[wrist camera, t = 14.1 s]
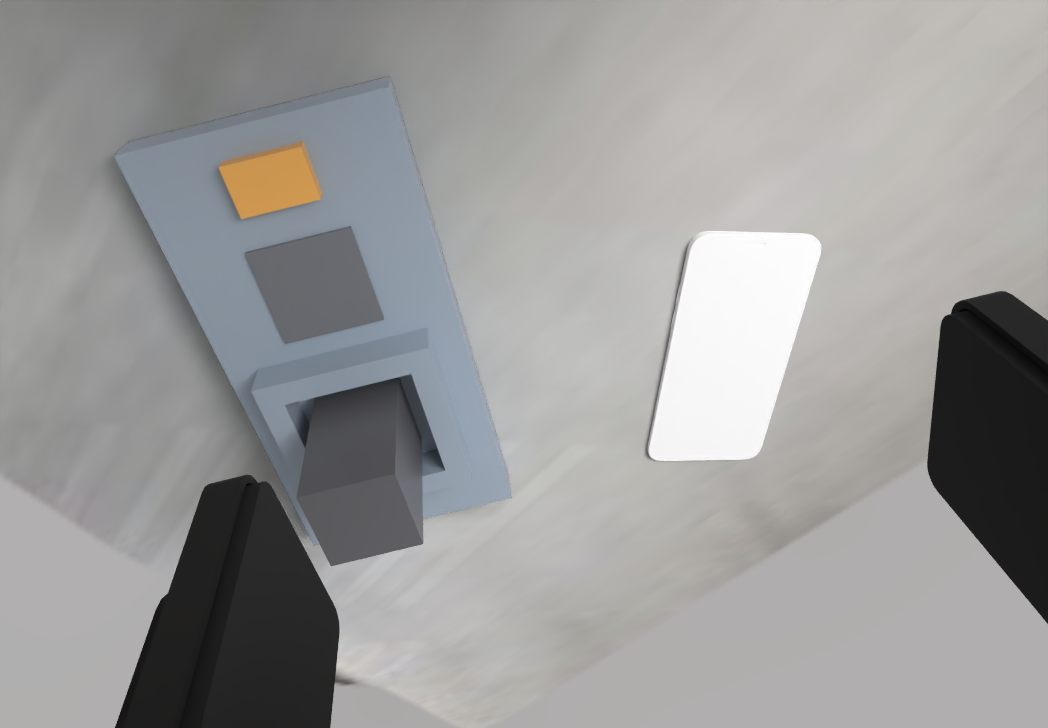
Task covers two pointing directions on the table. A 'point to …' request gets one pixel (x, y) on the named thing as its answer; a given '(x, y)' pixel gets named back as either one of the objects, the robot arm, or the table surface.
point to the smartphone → (730, 342)
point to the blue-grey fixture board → (321, 276)
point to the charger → (363, 473)
